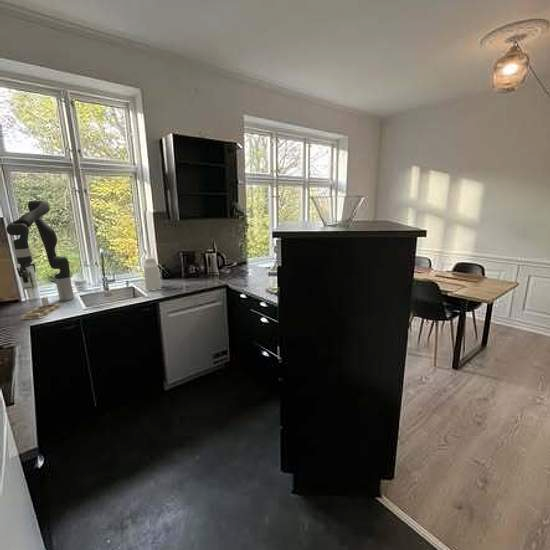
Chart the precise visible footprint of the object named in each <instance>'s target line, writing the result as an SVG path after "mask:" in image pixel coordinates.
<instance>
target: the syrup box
mask: <svg viewBox="0 0 550 550" xmlns="http://www.w3.org/2000/svg"><path fill="white" fill-rule="evenodd" d="M26 269H27V272H28V273H27V278H28V283H24V281H23V278H22V277H20V278H21V282H22V287H23V290H25V291H27V290H35V289H36V288H38V282H37V278H36V277H37V275H36V273H35V272H34V267H33V266H29V267H26ZM23 272H26V271H23ZM21 275H22V274H21ZM24 275H25V274H24Z"/></svg>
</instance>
